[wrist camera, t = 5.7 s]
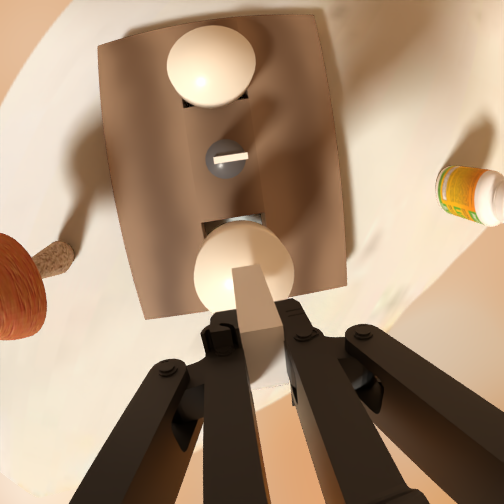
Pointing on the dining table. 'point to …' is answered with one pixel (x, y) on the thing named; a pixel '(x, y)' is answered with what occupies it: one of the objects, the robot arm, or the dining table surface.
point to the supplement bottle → (472, 194)
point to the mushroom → (27, 285)
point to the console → (194, 152)
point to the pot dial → (225, 158)
